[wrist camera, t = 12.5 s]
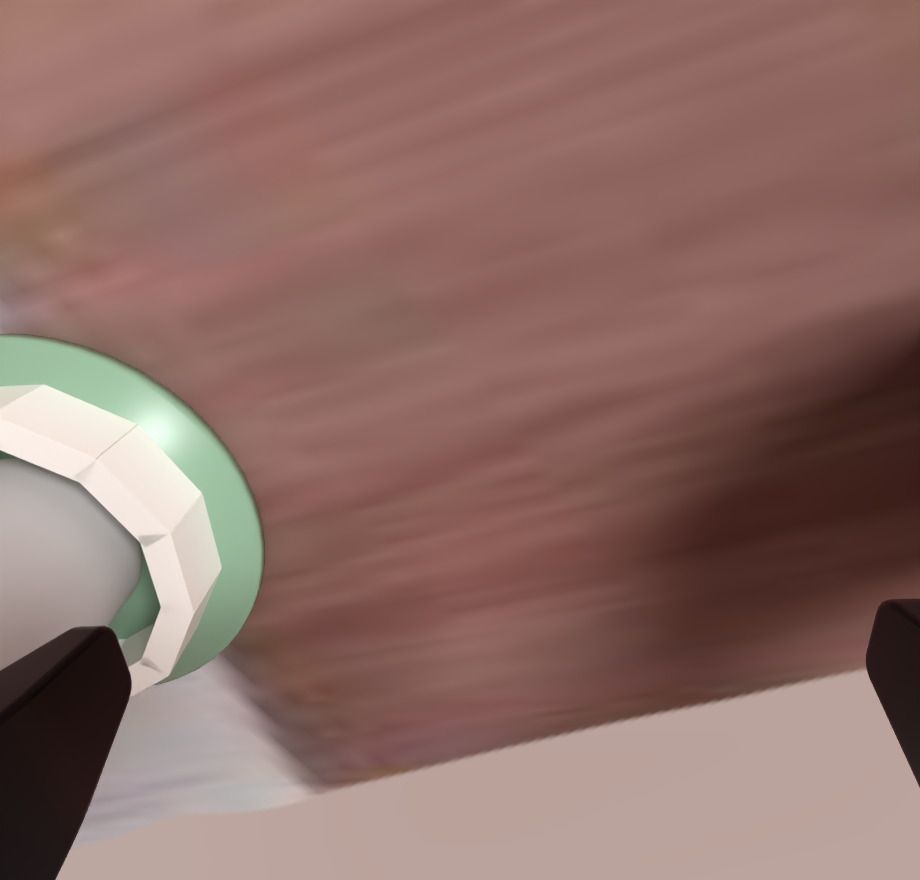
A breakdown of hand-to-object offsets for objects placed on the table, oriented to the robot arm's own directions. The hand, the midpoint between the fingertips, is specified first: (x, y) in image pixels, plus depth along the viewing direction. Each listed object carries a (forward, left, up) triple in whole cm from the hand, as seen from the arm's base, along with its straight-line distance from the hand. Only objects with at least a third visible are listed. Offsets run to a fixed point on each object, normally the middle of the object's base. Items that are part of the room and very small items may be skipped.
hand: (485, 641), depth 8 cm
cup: (+15, +6, -13) cm, 21 cm away
